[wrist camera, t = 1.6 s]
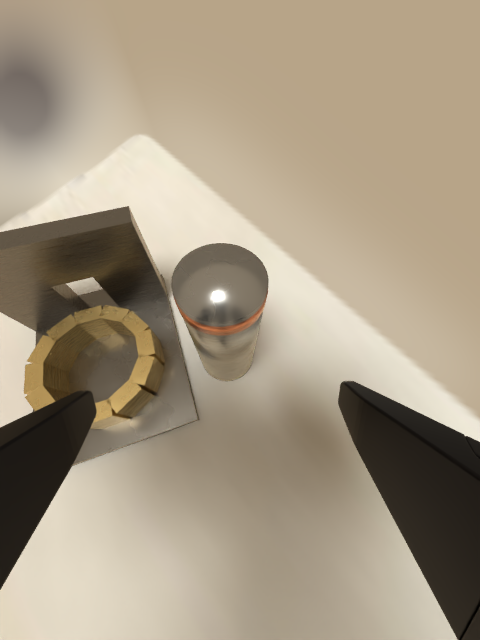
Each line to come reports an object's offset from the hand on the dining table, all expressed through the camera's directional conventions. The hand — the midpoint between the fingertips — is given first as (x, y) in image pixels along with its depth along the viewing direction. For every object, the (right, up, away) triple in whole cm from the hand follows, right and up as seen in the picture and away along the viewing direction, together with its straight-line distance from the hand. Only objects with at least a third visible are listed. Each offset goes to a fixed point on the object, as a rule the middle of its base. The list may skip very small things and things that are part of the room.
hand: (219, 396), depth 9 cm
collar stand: (-11, -1, +13) cm, 17 cm away
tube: (0, 0, +13) cm, 13 cm away
